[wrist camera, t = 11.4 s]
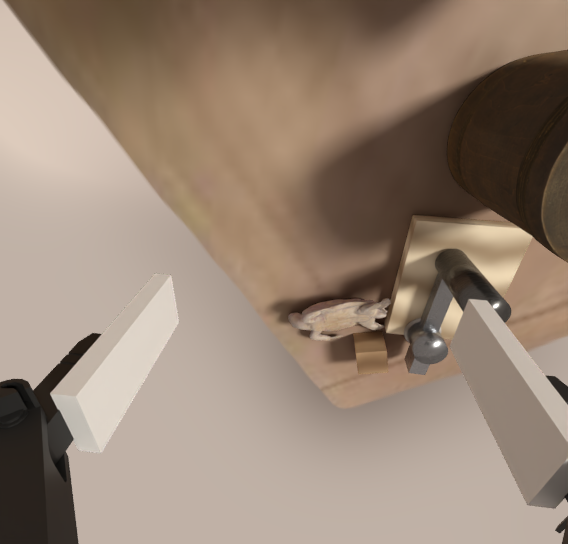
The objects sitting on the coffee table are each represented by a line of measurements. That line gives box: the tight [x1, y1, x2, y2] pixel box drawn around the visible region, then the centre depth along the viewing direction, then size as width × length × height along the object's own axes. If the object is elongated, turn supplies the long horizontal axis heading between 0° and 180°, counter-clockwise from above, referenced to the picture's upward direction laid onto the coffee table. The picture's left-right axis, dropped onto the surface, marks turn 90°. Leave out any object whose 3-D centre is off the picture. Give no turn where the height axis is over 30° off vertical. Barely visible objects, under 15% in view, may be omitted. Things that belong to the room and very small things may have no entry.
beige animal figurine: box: [288, 298, 391, 341], centre depth 47 cm, size 16×10×10 cm, turn 125°
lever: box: [405, 249, 511, 375], centre depth 40 cm, size 19×4×11 cm, turn 175°
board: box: [384, 215, 533, 342], centre depth 44 cm, size 20×14×2 cm
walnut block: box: [353, 331, 388, 374], centre depth 50 cm, size 4×4×4 cm
